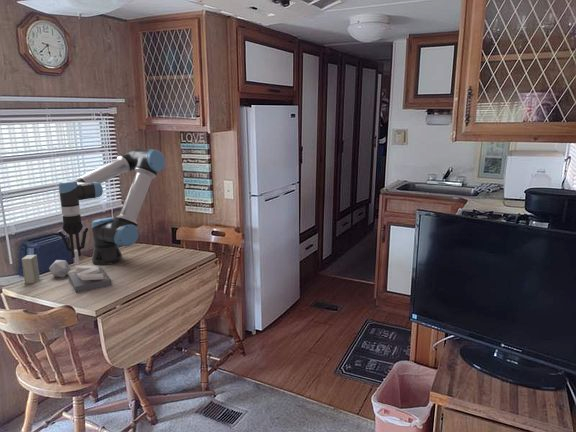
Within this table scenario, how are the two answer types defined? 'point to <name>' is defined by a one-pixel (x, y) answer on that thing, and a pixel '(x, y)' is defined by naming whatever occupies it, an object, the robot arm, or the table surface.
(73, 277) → the switch console
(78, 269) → the rocker back
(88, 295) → the table surface
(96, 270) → the rocker middle
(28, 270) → the skincare box
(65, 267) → the die
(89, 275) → the rocker front
